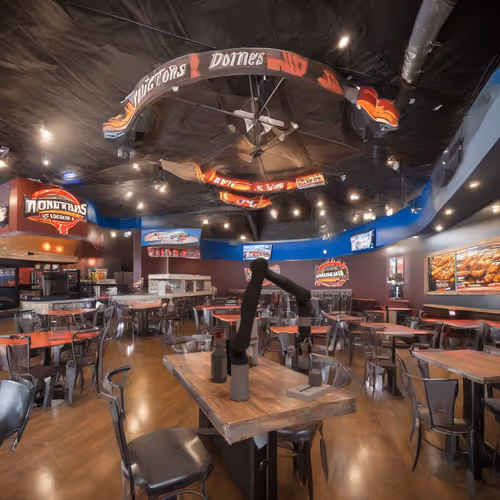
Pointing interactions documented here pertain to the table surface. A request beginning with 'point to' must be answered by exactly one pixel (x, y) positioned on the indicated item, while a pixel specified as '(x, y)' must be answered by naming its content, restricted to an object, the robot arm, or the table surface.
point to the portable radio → (228, 357)
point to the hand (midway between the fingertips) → (305, 354)
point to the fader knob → (315, 378)
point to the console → (308, 391)
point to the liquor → (218, 362)
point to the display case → (251, 345)
